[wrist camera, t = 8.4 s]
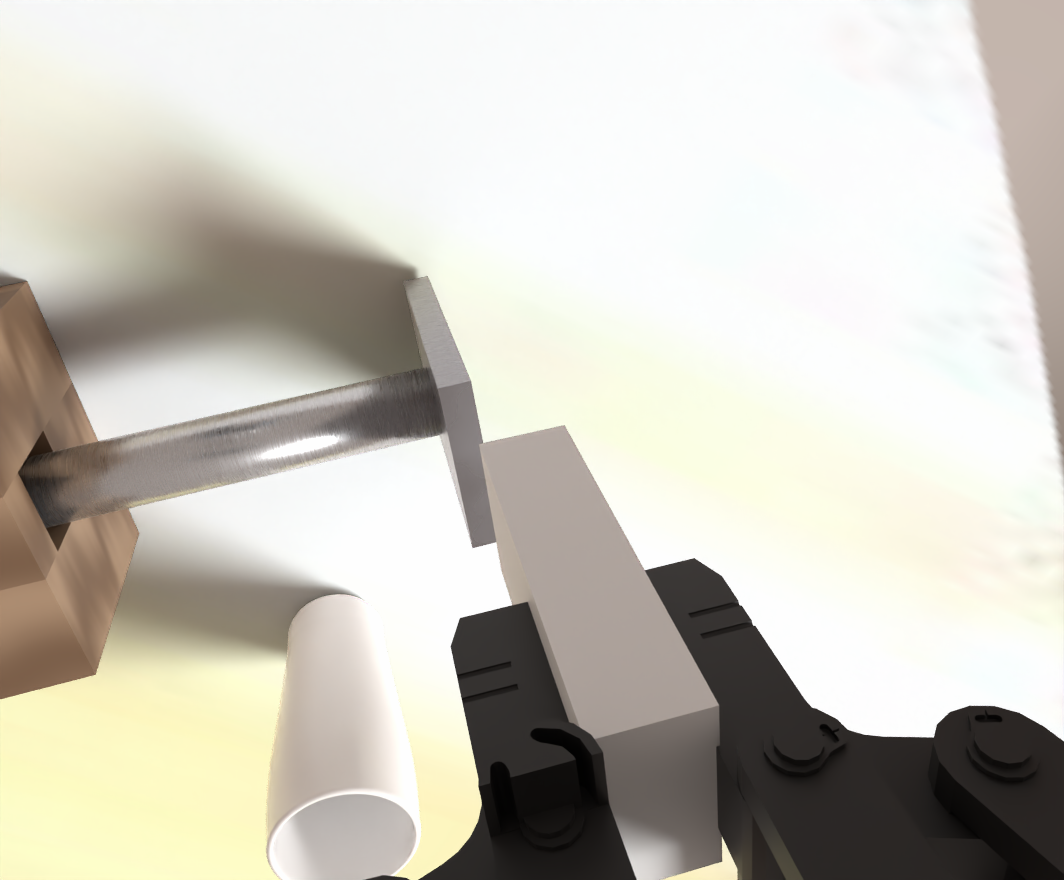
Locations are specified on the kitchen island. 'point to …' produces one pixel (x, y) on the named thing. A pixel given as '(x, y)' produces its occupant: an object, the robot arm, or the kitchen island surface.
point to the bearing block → (19, 534)
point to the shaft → (283, 438)
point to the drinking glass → (340, 752)
